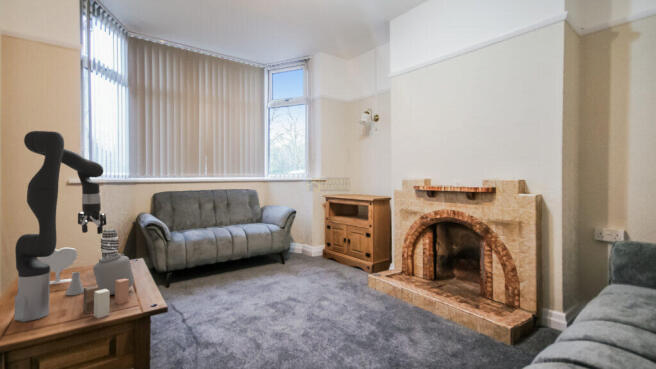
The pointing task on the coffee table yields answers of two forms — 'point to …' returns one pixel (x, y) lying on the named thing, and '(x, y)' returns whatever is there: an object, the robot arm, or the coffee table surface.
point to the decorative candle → (109, 242)
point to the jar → (112, 271)
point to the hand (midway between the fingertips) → (92, 233)
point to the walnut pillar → (89, 299)
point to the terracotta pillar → (121, 291)
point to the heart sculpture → (60, 262)
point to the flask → (75, 285)
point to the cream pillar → (101, 303)
